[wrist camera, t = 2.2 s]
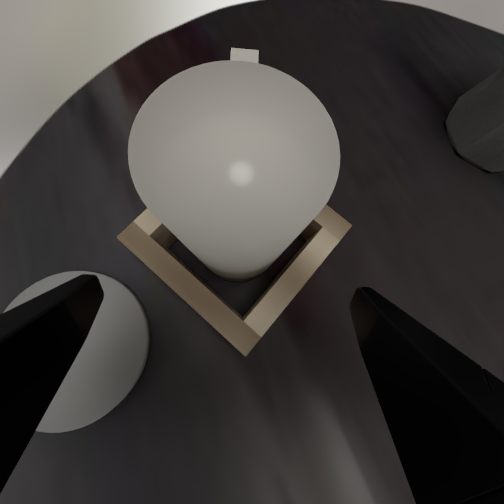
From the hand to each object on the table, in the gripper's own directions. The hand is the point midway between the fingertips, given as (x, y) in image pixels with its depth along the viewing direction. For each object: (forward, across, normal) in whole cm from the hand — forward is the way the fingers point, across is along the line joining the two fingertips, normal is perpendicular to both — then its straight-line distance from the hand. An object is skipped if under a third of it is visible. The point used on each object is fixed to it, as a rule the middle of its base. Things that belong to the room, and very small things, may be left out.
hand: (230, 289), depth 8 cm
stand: (+11, 0, +5) cm, 12 cm away
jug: (+12, 0, +4) cm, 12 cm away
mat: (+5, +12, +11) cm, 17 cm away
